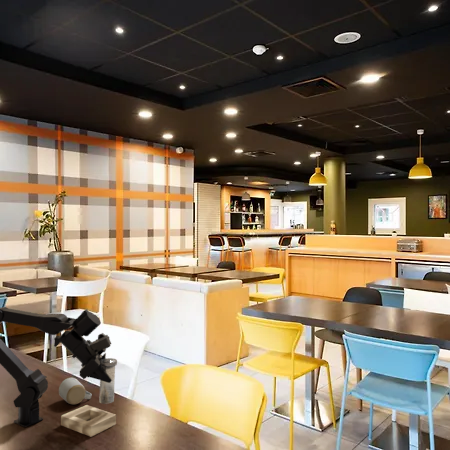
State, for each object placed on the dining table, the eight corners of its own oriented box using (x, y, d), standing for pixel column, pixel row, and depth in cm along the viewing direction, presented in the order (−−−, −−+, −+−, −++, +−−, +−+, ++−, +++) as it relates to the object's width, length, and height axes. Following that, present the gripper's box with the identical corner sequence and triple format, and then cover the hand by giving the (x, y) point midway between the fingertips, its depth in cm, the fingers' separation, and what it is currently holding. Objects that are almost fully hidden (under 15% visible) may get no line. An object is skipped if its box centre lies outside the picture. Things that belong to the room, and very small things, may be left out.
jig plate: (61, 425, 133) (61, 415, 133) (86, 413, 141) (86, 404, 141) (90, 436, 126) (91, 426, 126) (116, 424, 134) (116, 414, 134)
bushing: (93, 401, 136) (94, 361, 137) (107, 396, 141) (108, 357, 142) (106, 405, 133) (107, 364, 134) (119, 400, 138) (120, 360, 139)
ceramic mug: (66, 408, 146) (67, 385, 146) (58, 400, 152) (58, 379, 153) (95, 400, 153) (96, 379, 153) (86, 394, 159) (87, 373, 160)
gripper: (91, 334, 128) (127, 370, 129) (100, 321, 146) (131, 353, 148) (63, 361, 127) (100, 396, 128) (76, 344, 145) (108, 376, 146)
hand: (111, 378), depth 138 cm, fingers closed on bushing, 5 cm apart
